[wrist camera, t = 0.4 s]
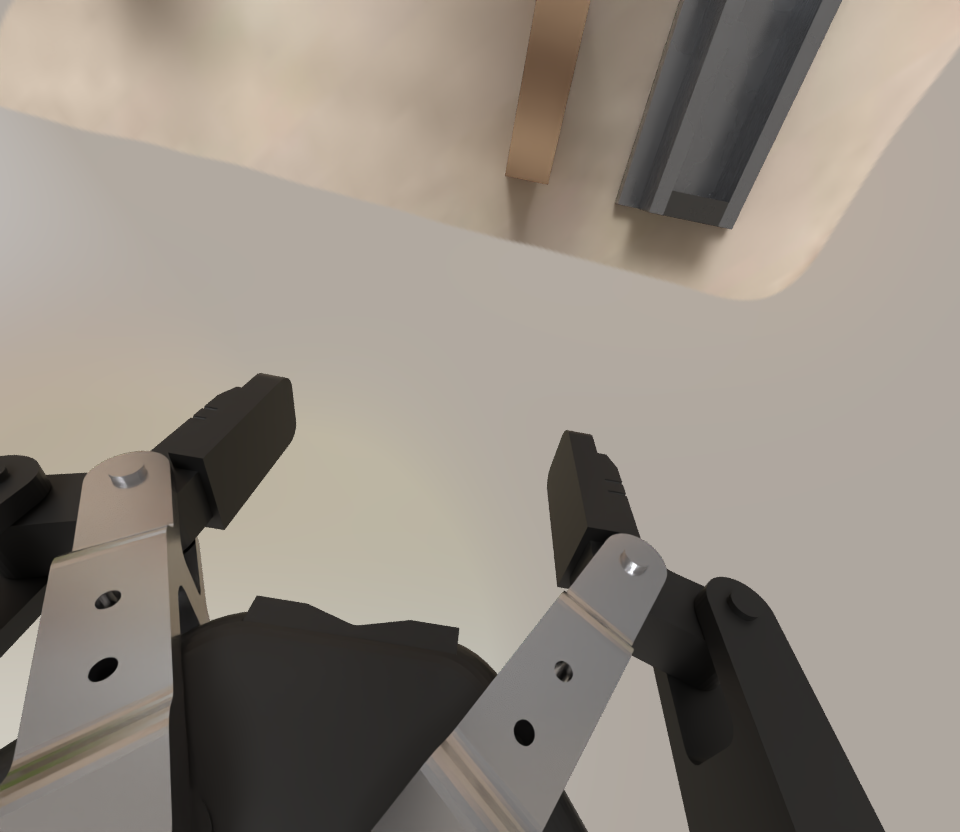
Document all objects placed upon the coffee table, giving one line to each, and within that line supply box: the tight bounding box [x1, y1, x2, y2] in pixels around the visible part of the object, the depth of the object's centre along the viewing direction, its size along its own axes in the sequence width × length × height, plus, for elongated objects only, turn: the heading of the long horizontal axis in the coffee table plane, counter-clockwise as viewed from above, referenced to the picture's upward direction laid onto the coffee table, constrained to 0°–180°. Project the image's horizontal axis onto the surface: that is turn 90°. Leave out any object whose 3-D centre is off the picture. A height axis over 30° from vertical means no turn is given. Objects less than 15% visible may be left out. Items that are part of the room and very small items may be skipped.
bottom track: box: [615, 0, 842, 229], centre depth 23 cm, size 20×9×4 cm, turn 170°
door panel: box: [505, 0, 590, 185], centre depth 23 cm, size 11×2×9 cm, turn 170°
